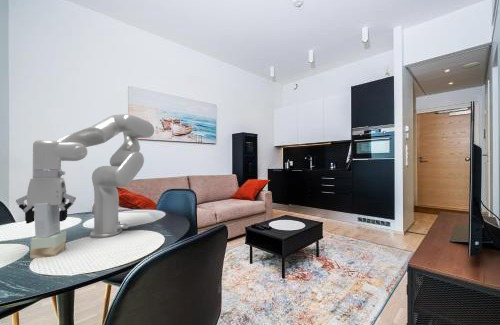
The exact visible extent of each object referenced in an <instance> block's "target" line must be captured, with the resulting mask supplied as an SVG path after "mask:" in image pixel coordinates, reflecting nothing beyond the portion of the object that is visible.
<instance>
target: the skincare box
mask: <svg viewBox="0 0 500 325" xmlns="http://www.w3.org/2000/svg"><path fill="white" fill-rule="evenodd" d="M33 210H34V230H35V233H34V234H35V236H34V237H36V238H39V237H49V236H51V235H53V234H56V233H58V232H61V222H60V221H59V212H60V208H59V207H58V206H57V205H56V206H49V203H41V204H34V209H33Z"/></svg>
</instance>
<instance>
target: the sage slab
mask: <svg viewBox="0 0 500 325" xmlns="http://www.w3.org/2000/svg"><path fill="white" fill-rule="evenodd" d="M64 241H65V242H66V241H67V231H66V230H65V231H62V230H61V231H60V232H58V233H56V234H53V235H51V236H49V237H39V238H36V237H35V236H34V237H31V239H30V249H37V248H49V247H56V246H58V245H59V244H61V243H63V242H64Z"/></svg>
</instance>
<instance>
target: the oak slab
mask: <svg viewBox="0 0 500 325" xmlns="http://www.w3.org/2000/svg"><path fill="white" fill-rule="evenodd" d="M65 249H66V241H64V242H63V243H61V244H59V245H58V246H56V247H49V248H37V249H31V248H30V249H29V251H30V252H29V254H30V255H29V257H30V259H31V260H32V259H41V258H49V257H50V258H52V257H56V256H58V255H59V254H60V253H62V252H63V251H64V250H65Z"/></svg>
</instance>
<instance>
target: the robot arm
mask: <svg viewBox="0 0 500 325" xmlns="http://www.w3.org/2000/svg"><path fill="white" fill-rule="evenodd" d="M120 133H122V135H123V143H122V144H121V145H120V146H119V147H118V149H117V150H116V151H115V152H114V153H113V154H112V155H111V157H110V159H109V165H102V166H99V167H97V168H95V169H94V170H93V172H92V173H91V180H92V181H91V182H92V187H93V191H94V194H93V195H94V196H93V197H94V199H93V200H94V204H93V205H94V206H93V207H94V209H93V211H94V212H93V216H94V218H93V226H94V228H93V230H92V231H90V233H89V237H91V238H106V237H112V236H115V235H118V234H120V233H122V232H123V230H124V229H129V224H128V223H121V220H120V221H119V210H120V209H119V202H120V201H119V199H120V198H119V197H120V196H119V191H118V188H123V187H126V186H128V185H129V184H130V183H131V182H132V181H133V180H134V178H135V177H137V175H138V174H139V172H140V171H141V169H142V168H143V166H144V161H145V157H144V154H143V153H142V152H140V150H141V145H140V142H139V139H143V138H144V139H146V138H152V136H154V134H155V127H154V126H153V124H152V123H151V122H150V121H148V120H146V119H143V118H141V117H138V116H136V115H133V114H128V113H125V114H122V113H121V114H112V115H110V116H108V117H106V118H104V119H103V120H101V121H98V122H97V123H95V124H93V125H91V126H88V127H85V128H83V129H81V130H78V131H76V132H73V133H70V134H68V135H66V136H63V137H62V138H59V139H57V140H44V139H43V140H41V139H39V140H38V139H37V140H35V141H34V142H33V143H32V178H30V180H29V183H28V187H27V192H26V195H24V196H22V197H19V198H17V199H15V203H16V205H18V208H19V209H21V210H22V212H23V213H24V214H25V215H24V220H25V223H26V225H27V224H31V223H33V222H35V215H34V204H41V203H49V206H56V205H57V206H58V207H59V221H60V223H61V222H64V221H66V220H67V218H68V210H69V209H70V208H71V206H73V205H74V203H75V201H76V199H77V197H76V196H74V195H71V194H68V193H67V187H66V182H65V178H64V177H62V176H65V175H66V171H63V170H62V162H64V161H65V162H78V161H82V160H84V159H85V158H86V157H87V155H88V149H87V148H88V147H93V146H98V145H102V144H104V143H107V142H108V141H110V140H111V139H113V138H114V137H115V136H118V135H120ZM67 200H68V202H67ZM25 201H26V203H25Z"/></svg>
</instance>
